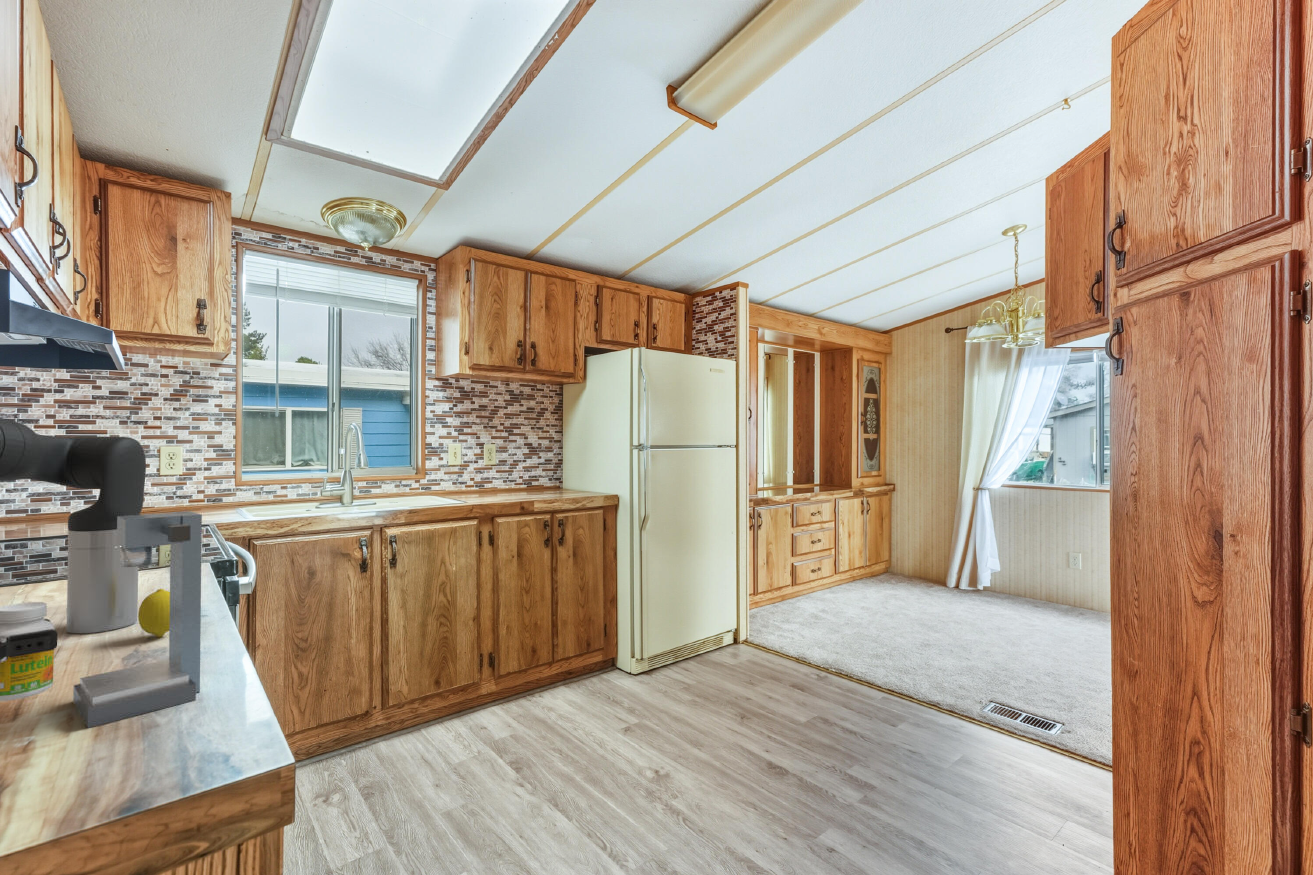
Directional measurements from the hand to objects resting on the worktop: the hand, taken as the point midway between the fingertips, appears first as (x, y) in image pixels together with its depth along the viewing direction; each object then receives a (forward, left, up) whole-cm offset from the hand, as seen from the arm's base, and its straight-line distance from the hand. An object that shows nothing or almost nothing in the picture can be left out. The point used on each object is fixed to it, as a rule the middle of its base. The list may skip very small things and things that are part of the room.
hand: (52, 633), depth 71 cm
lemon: (-29, +15, -10) cm, 34 cm away
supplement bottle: (0, -3, -6) cm, 7 cm away
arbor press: (+2, +8, -10) cm, 13 cm away
